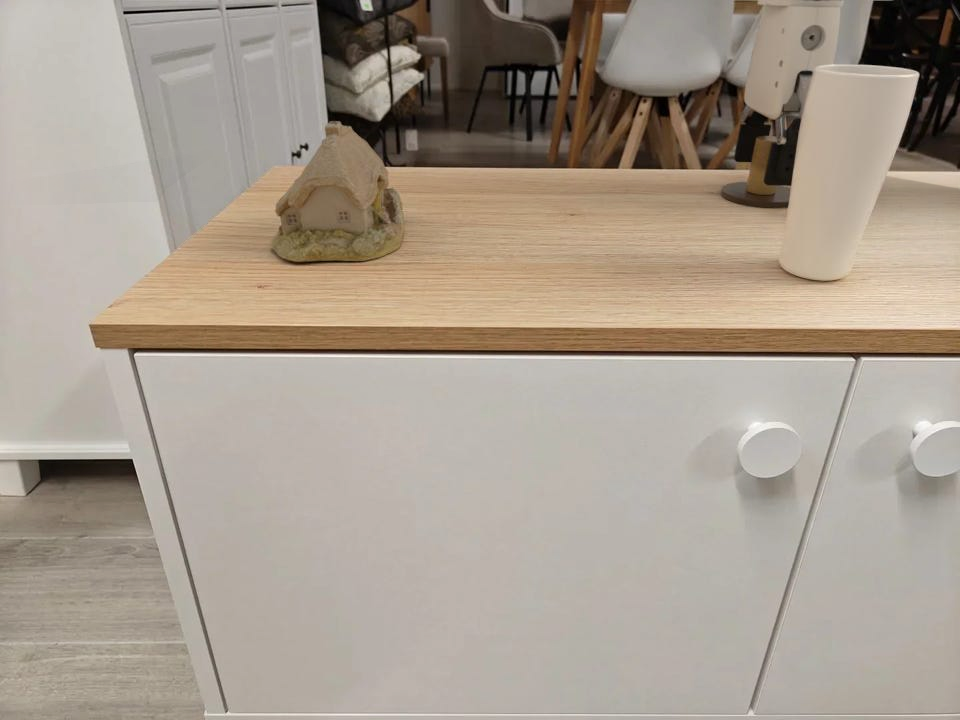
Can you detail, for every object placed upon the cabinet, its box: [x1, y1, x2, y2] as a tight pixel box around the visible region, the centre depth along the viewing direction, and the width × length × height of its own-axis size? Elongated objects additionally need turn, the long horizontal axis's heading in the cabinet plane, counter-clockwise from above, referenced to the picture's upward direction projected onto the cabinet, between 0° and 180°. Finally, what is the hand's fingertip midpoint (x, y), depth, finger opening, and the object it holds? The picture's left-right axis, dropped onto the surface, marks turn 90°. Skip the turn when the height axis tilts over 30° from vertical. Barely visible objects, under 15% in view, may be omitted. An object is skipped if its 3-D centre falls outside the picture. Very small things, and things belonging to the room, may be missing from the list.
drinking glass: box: [778, 63, 920, 282], centre depth 51 cm, size 7×7×15 cm
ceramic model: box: [270, 120, 405, 263], centre depth 58 cm, size 14×11×10 cm
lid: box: [720, 135, 791, 209], centre depth 71 cm, size 8×8×6 cm
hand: (763, 172), depth 71 cm, fingers open, 9 cm apart
